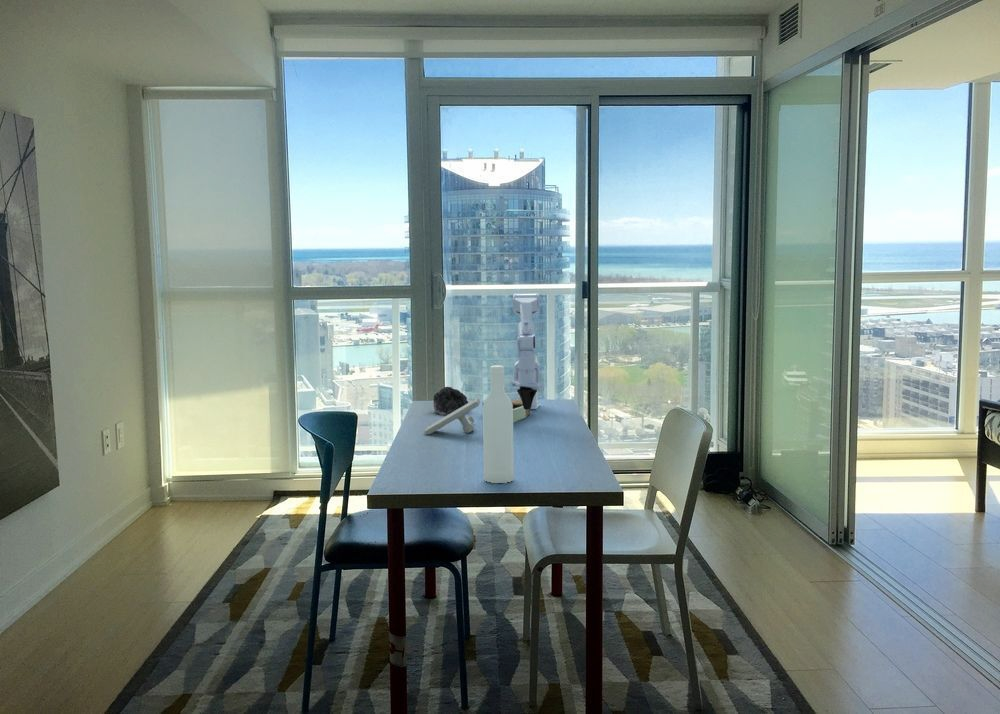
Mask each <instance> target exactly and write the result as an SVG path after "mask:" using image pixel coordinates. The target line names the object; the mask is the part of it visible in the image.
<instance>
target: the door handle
mask: <svg viewBox="0 0 1000 714" xmlns="http://www.w3.org/2000/svg"><path fill="white" fill-rule="evenodd" d="M480 403H481V401H480V398H479V397H476V398H474V399H472V400H471V401H468V403H467V404H466V405H464V406H462V407H461V408H459V409H457V410H456V411H454V412H452V413H450V414H449V415H444V417H442V418H440V419H437V421H434V422H433V423H432V424H430V425H428V426H427V427H426V429H425V430H424V433H425V435H426V434H429V435H431V434H433V433H434V432H437V431H438V430H440V429H441V428H443V427H445V426H446V425H448V424H450V423H451V422H453V421H455V420H459V422H460V424H461V425H462V427H461V429H462V431H463V432H464V433H465V432H467V433H466V434H469V433H471V432H472V431H473V430H474V429H475V426H474V423H475V419H474V418H473V416H471V415H470V416H468V417H466V414H467V413H469V412H470V411H472V410H474V409H476V408H477V407H479V406H480Z"/></svg>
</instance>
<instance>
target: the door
mask: <svg viewBox="0 0 1000 714" xmlns="http://www.w3.org/2000/svg"><path fill="white" fill-rule="evenodd" d="M526 417H527V415H526V409H524V407H523V406H521V407H518V408H515V409H513V423H515V422H517V421H519V420H523V419H527V418H528V417H527V418H526Z"/></svg>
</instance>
